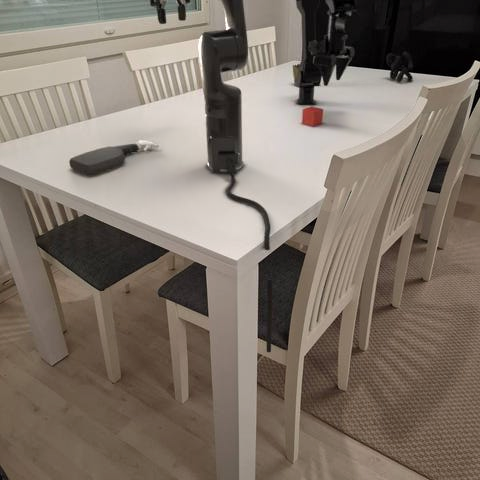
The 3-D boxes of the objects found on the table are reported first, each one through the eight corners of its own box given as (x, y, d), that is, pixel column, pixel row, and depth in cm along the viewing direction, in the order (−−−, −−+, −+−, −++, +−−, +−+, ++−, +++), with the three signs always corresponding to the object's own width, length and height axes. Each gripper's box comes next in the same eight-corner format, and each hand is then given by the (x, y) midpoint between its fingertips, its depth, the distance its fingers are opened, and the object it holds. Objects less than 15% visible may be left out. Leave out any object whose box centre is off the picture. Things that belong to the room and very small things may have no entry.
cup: (289, 85, 195) (289, 66, 191) (295, 82, 200) (296, 63, 196) (305, 87, 192) (306, 67, 188) (311, 83, 197) (312, 64, 193)
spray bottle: (67, 168, 120) (139, 144, 136) (91, 178, 114) (163, 151, 130) (65, 157, 118) (137, 134, 134) (89, 167, 112) (162, 142, 128)
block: (310, 120, 153) (311, 106, 150) (322, 123, 150) (323, 109, 147) (301, 123, 150) (302, 109, 147) (313, 126, 147) (314, 112, 144)
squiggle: (400, 92, 202) (376, 71, 205) (417, 76, 202) (392, 56, 205) (405, 81, 191) (380, 59, 194) (423, 64, 191) (397, 42, 194)
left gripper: (173, -45, 126) (178, 19, 135) (137, -45, 116) (145, 24, 125) (194, -45, 123) (198, 20, 132) (159, -45, 113) (166, 25, 122)
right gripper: (326, 26, 151) (322, 74, 159) (299, 33, 138) (297, 85, 146) (357, 28, 145) (352, 78, 154) (332, 36, 132) (327, 90, 141)
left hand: (172, 22), depth 128 cm, fingers open, 8 cm apart
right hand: (331, 82), depth 149 cm, fingers open, 9 cm apart
